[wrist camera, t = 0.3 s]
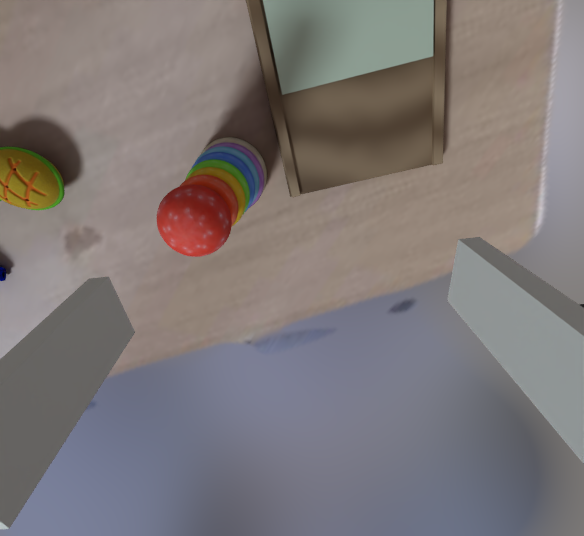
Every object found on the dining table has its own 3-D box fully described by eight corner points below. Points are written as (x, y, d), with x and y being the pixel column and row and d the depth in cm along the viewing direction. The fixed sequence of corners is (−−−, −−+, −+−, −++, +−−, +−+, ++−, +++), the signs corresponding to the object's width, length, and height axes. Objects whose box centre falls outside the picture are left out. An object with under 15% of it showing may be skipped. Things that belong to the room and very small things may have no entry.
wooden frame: (235, -47, 26) (232, -57, 25) (442, -109, 25) (452, -123, 23) (290, 194, 37) (290, 197, 35) (437, 160, 35) (444, 162, 34)
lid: (258, -21, 26) (255, -38, 23) (431, -71, 25) (452, -96, 22) (282, 94, 30) (282, 93, 27) (430, 56, 29) (448, 51, 26)
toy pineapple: (85, 204, 37) (56, 219, 32) (0, 201, 36) (-42, 216, 32) (67, 145, 33) (32, 151, 29) (-26, 141, 33) (-78, 147, 28)
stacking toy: (219, 121, 33) (156, 137, 16) (279, 163, 35) (277, 215, 19) (188, 181, 36) (108, 246, 19) (245, 217, 38) (218, 302, 22)
